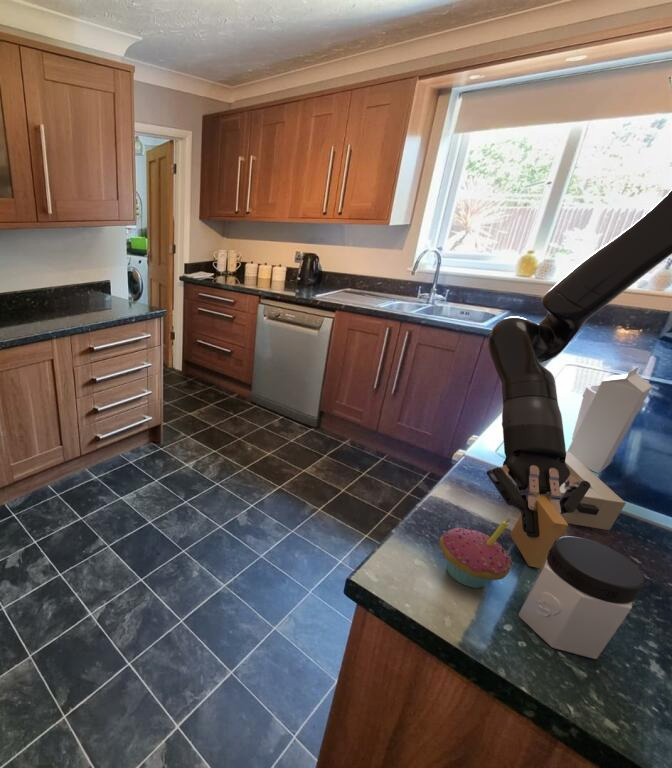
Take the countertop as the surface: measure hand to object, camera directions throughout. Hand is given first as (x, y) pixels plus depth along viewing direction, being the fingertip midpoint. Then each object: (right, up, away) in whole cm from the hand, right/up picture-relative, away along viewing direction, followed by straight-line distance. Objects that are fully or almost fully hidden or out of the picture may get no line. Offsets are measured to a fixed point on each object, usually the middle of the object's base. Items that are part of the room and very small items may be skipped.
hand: (542, 538), depth 64 cm
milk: (+35, +6, +28) cm, 45 cm away
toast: (0, -3, +3) cm, 5 cm away
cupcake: (-12, -6, -1) cm, 13 cm away
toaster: (+17, +2, +17) cm, 24 cm away
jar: (-5, -9, -8) cm, 13 cm away
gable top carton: (+43, +9, +35) cm, 56 cm away
